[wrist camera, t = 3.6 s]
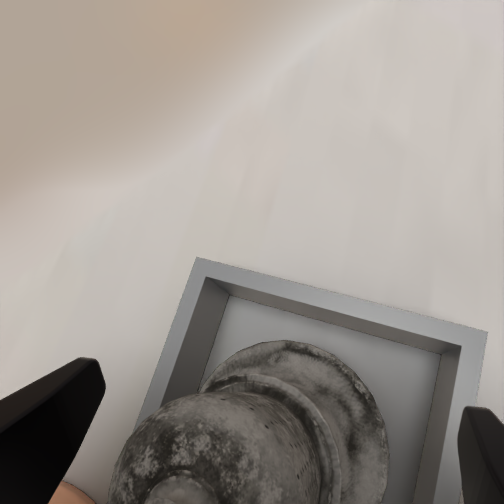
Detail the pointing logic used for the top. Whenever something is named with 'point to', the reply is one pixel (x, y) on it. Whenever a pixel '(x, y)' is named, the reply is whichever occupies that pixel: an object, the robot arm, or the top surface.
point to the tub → (339, 313)
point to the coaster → (69, 495)
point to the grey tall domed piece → (261, 436)
